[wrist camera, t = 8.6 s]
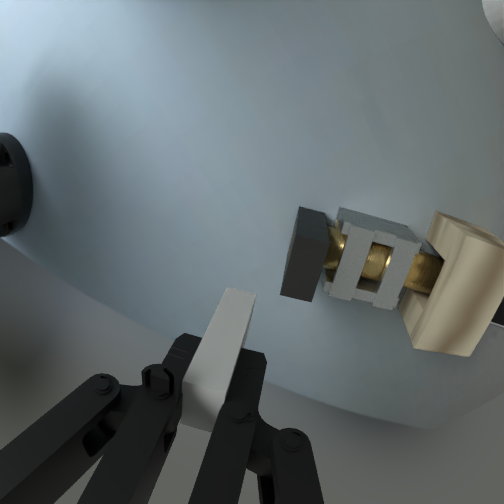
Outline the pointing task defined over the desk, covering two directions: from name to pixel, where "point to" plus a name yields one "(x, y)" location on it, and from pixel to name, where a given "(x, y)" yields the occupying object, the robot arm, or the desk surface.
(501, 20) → the cylinder container
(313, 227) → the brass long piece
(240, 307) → the robot arm
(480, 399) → the desk surface
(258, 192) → the desk surface
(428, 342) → the socket
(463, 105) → the desk surface
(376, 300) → the sleeve
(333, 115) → the desk surface
